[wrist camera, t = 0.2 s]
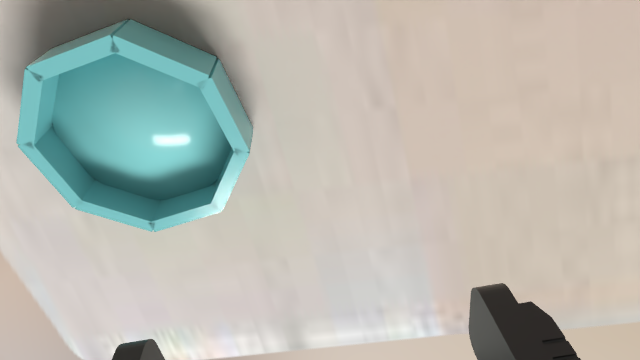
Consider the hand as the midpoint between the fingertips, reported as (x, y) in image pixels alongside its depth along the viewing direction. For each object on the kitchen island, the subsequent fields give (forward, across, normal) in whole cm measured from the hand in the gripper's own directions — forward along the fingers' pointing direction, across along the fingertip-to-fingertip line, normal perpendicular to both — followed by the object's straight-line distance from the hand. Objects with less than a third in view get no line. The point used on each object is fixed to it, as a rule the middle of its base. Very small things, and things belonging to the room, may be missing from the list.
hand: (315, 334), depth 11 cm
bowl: (+22, +11, +2) cm, 25 cm away
